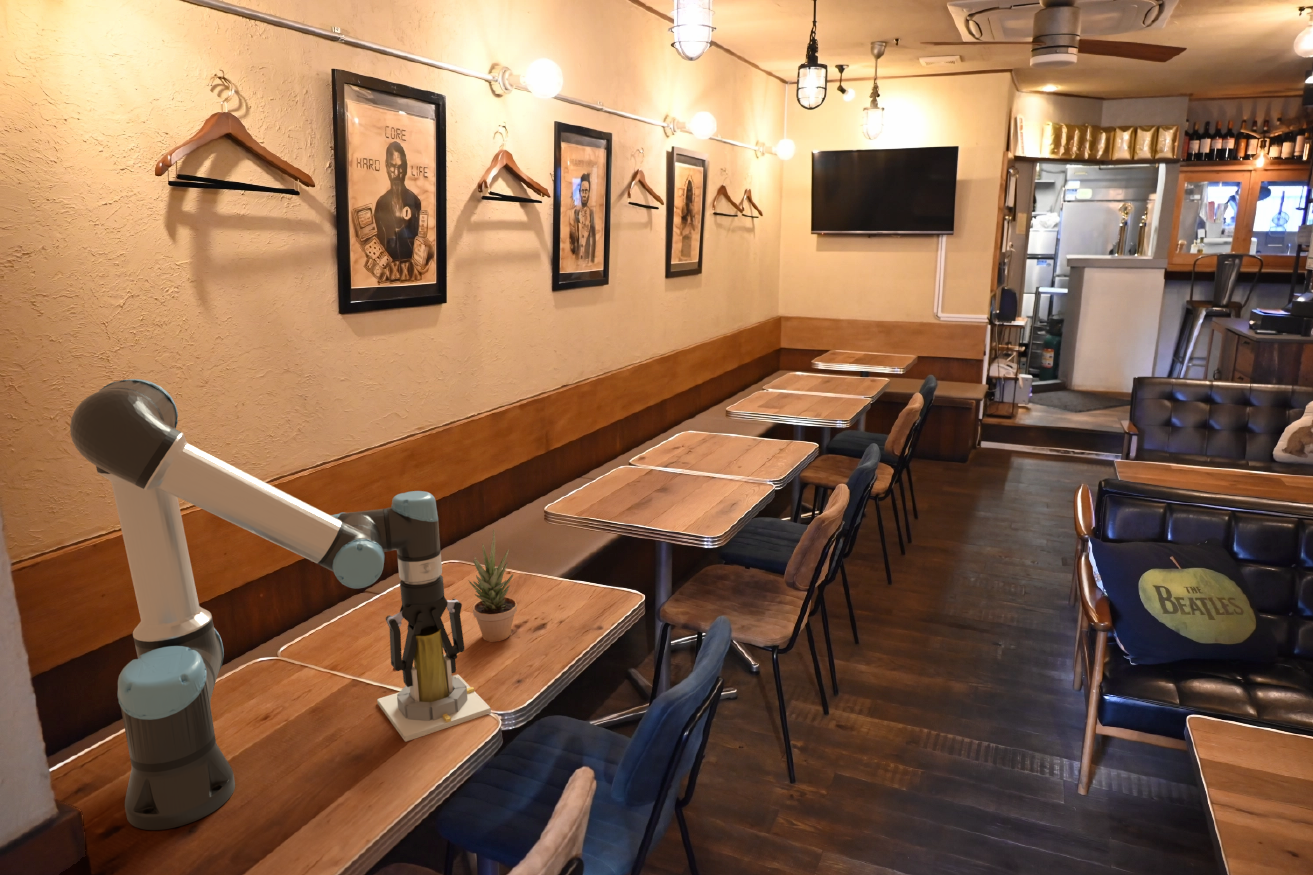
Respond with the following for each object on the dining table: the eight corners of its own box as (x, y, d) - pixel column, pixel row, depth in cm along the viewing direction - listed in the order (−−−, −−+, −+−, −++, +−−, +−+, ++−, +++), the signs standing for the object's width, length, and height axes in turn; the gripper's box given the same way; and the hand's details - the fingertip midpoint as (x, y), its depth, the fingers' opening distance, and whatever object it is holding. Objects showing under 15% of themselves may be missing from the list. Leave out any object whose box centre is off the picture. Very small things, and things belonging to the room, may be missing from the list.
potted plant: (510, 646, 187) (503, 536, 182) (468, 644, 188) (459, 535, 183) (525, 626, 197) (517, 521, 191) (484, 624, 198) (476, 520, 193)
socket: (405, 741, 152) (403, 723, 151) (377, 703, 165) (375, 686, 164) (491, 712, 161) (489, 695, 160) (458, 678, 174) (457, 662, 173)
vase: (409, 708, 160) (402, 636, 157) (424, 691, 166) (418, 622, 163) (440, 711, 159) (434, 638, 156) (454, 694, 165) (448, 623, 162)
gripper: (375, 596, 149) (388, 719, 154) (478, 571, 159) (487, 687, 164) (362, 583, 155) (375, 702, 160) (462, 559, 165) (471, 672, 170)
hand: (431, 694), depth 162 cm, fingers closed on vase, 6 cm apart
